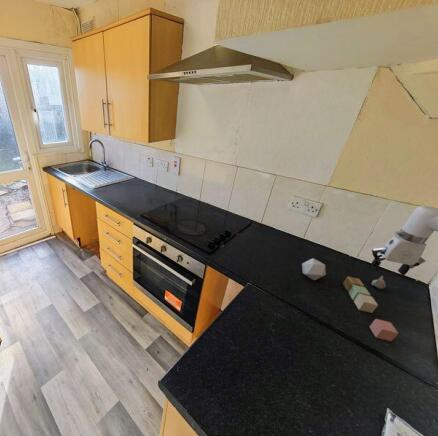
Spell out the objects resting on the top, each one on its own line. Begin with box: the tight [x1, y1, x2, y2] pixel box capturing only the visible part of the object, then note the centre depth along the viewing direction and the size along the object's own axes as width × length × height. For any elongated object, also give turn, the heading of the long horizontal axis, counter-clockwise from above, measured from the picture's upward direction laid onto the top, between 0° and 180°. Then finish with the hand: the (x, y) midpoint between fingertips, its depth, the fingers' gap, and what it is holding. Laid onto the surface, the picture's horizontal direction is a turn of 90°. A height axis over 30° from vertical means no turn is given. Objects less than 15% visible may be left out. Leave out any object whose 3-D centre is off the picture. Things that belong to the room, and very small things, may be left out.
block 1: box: [342, 276, 365, 292], centre depth 98 cm, size 4×4×4 cm
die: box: [301, 257, 327, 281], centre depth 103 cm, size 8×9×10 cm
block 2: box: [347, 285, 371, 301], centre depth 93 cm, size 4×4×4 cm
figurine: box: [371, 275, 387, 290], centre depth 99 cm, size 5×4×6 cm
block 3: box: [353, 294, 379, 314], centre depth 89 cm, size 4×4×4 cm
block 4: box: [369, 318, 399, 342], centre depth 78 cm, size 4×4×4 cm
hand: (386, 270), depth 97 cm, fingers open, 9 cm apart
